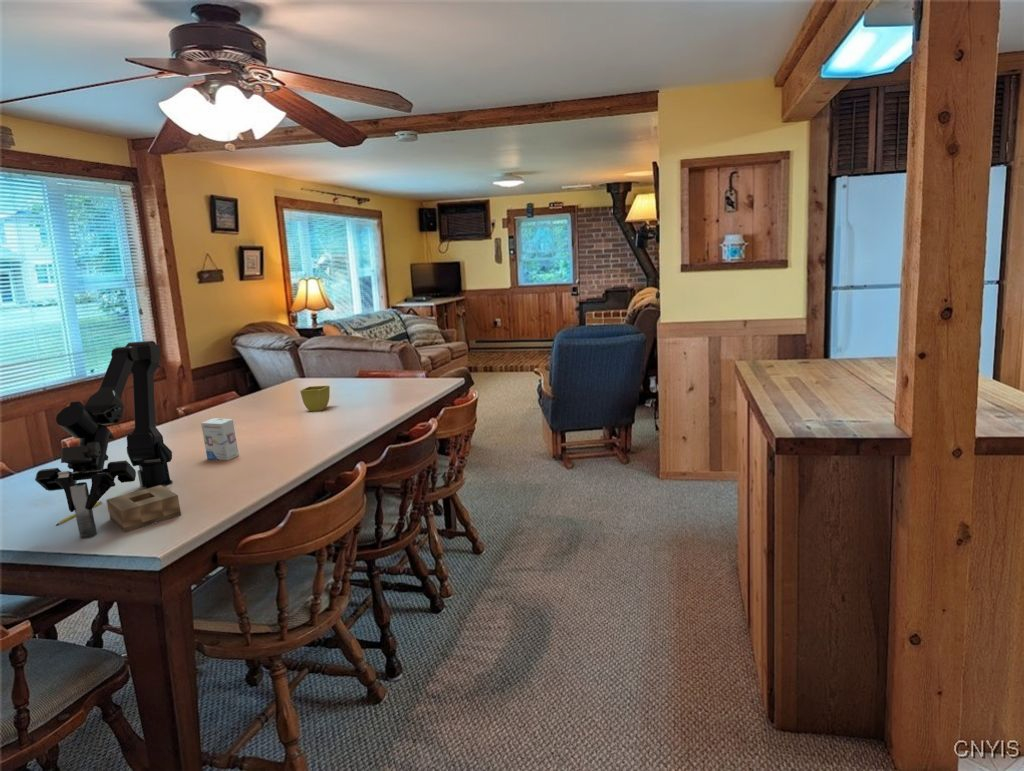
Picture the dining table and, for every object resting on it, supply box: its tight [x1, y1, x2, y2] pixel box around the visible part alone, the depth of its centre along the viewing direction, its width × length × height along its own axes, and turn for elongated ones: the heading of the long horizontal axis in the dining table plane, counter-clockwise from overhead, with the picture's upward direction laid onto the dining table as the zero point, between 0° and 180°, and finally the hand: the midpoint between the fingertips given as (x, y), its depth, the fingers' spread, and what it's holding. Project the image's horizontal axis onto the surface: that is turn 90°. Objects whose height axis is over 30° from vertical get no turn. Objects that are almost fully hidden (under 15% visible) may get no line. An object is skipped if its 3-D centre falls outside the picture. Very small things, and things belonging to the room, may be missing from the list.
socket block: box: [106, 485, 182, 533], centre depth 154 cm, size 12×12×5 cm
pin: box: [70, 481, 98, 540], centre depth 145 cm, size 3×3×12 cm
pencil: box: [55, 500, 103, 526], centre depth 160 cm, size 1×14×1 cm, turn 171°
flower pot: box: [299, 385, 331, 412], centre depth 259 cm, size 9×9×9 cm
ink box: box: [200, 417, 240, 461], centre depth 200 cm, size 9×5×12 cm, turn 70°
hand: (80, 510), depth 143 cm, fingers closed on pin, 3 cm apart
